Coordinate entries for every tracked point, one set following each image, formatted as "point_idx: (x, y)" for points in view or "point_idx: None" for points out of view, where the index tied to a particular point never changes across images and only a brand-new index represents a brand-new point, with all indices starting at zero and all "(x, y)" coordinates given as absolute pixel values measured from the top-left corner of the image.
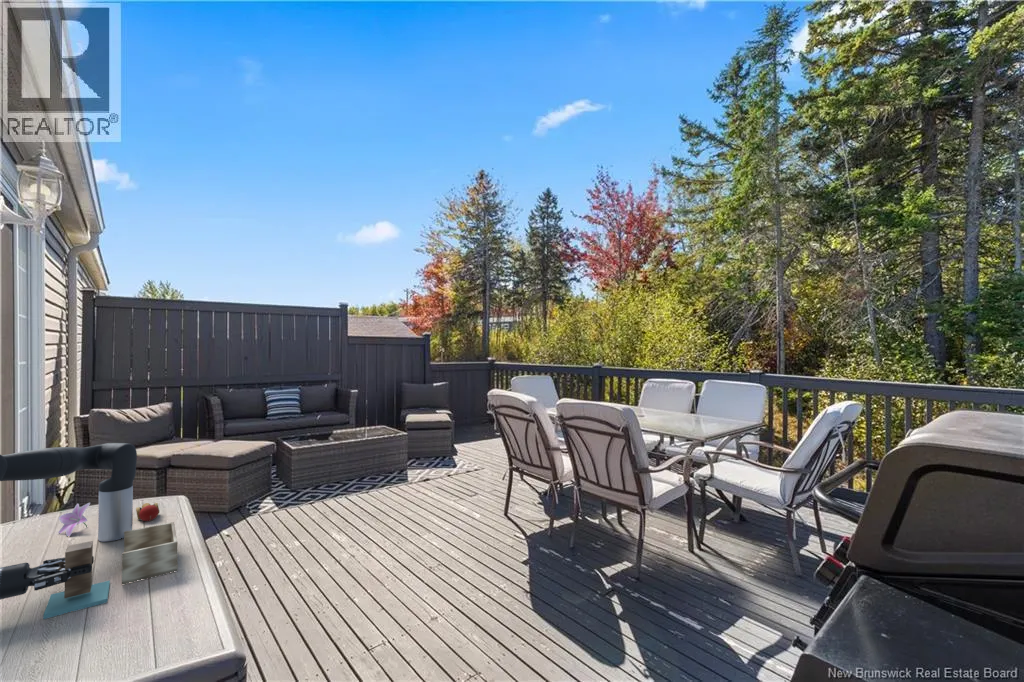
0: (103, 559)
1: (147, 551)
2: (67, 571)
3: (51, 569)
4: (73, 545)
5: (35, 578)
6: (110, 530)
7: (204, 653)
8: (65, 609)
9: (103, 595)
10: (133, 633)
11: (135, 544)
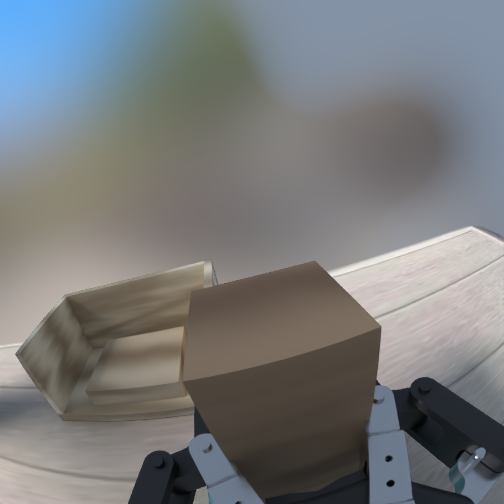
0: (24, 449)
1: None
2: (416, 379)
3: (405, 463)
4: (210, 345)
5: (474, 501)
6: None
7: (481, 236)
8: None
9: None
10: (472, 293)
11: (54, 373)
